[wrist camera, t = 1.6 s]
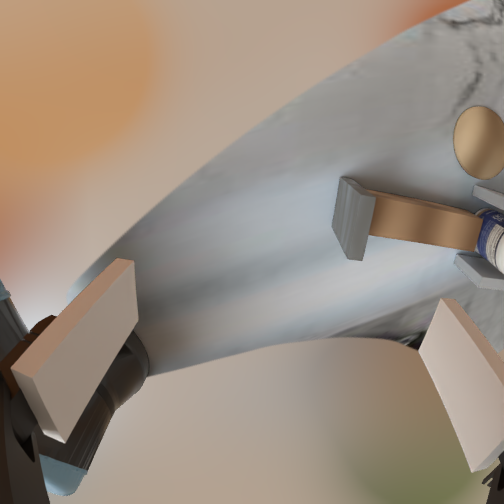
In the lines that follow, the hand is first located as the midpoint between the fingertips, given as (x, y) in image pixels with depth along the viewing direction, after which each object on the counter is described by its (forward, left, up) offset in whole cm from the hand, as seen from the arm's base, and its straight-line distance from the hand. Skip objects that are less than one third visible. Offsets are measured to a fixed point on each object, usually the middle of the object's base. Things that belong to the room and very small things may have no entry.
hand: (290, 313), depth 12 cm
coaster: (+21, +10, -20) cm, 31 cm away
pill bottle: (+24, 0, -21) cm, 31 cm away
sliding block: (+13, 0, -20) cm, 24 cm away
